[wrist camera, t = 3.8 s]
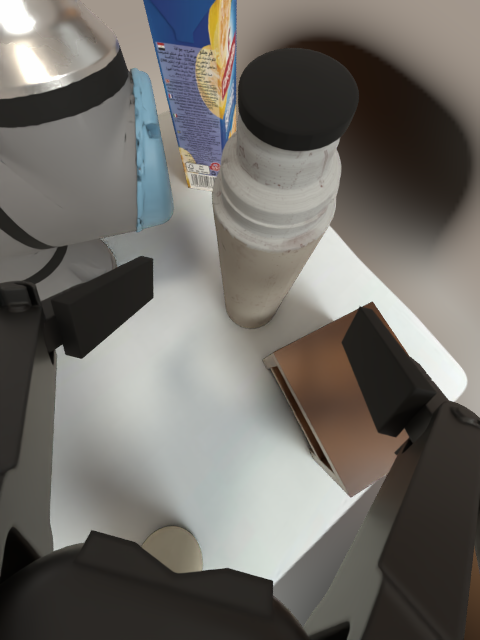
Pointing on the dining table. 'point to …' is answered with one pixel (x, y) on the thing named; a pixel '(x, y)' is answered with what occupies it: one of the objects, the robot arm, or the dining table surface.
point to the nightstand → (334, 406)
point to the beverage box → (197, 78)
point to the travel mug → (175, 549)
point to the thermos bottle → (279, 176)
